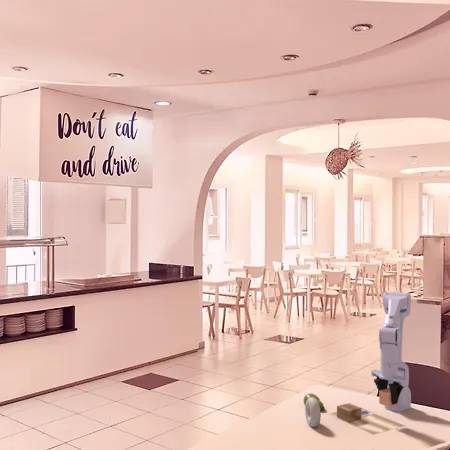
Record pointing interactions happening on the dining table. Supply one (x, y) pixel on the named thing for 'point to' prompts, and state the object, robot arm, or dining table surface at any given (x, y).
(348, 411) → the base block
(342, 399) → the dining table surface
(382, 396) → the top block
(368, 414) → the build board
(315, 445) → the dining table surface
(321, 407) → the pear
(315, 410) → the donut
